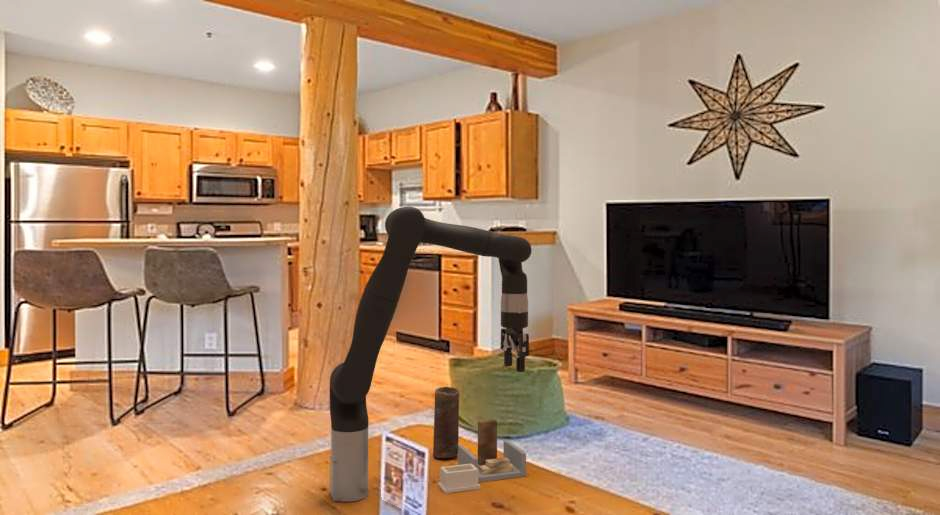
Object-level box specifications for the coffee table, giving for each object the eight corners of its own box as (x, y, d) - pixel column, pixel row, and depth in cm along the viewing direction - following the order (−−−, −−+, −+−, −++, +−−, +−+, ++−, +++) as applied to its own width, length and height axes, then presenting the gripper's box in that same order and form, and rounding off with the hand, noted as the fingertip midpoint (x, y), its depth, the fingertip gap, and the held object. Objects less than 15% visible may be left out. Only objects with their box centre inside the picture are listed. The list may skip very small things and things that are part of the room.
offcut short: (489, 468, 172) (489, 463, 172) (485, 465, 175) (485, 459, 175) (510, 465, 175) (510, 460, 175) (505, 462, 177) (505, 457, 177)
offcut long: (482, 475, 172) (482, 469, 172) (478, 471, 175) (478, 465, 175) (513, 471, 175) (513, 465, 175) (509, 467, 178) (509, 462, 178)
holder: (444, 493, 162) (444, 474, 162) (437, 485, 168) (437, 466, 168) (480, 488, 165) (480, 470, 165) (472, 480, 171) (472, 462, 171)
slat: (480, 465, 179) (480, 422, 179) (477, 463, 181) (477, 420, 181) (497, 463, 181) (497, 421, 181) (494, 461, 183) (494, 419, 183)
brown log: (458, 452, 194) (458, 386, 194) (459, 460, 187) (459, 391, 187) (433, 453, 194) (433, 386, 194) (433, 461, 187) (433, 392, 186)
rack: (473, 482, 170) (473, 459, 169) (457, 467, 182) (457, 445, 182) (526, 476, 174) (526, 453, 174) (507, 461, 187) (507, 439, 187)
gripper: (492, 308, 183) (492, 365, 183) (512, 312, 170) (511, 374, 170) (516, 307, 186) (516, 363, 186) (538, 311, 172) (537, 372, 173)
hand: (514, 368), depth 178 cm, fingers open, 8 cm apart
